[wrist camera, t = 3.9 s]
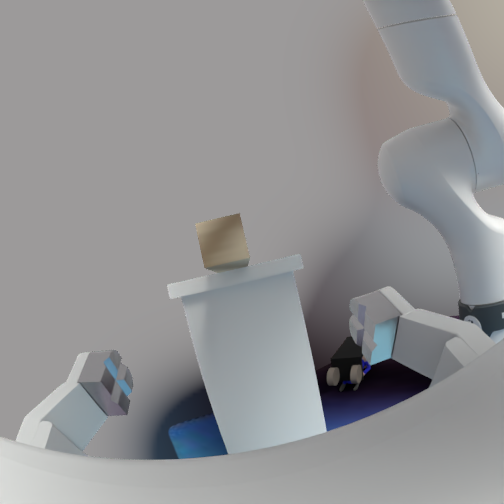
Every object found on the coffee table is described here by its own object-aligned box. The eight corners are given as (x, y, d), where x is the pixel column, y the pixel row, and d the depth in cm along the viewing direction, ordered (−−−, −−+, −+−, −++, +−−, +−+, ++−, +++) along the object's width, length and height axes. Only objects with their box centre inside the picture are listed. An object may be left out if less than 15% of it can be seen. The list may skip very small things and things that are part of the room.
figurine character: (364, 401, 41) (378, 360, 54) (357, 366, 41) (373, 329, 54) (330, 402, 45) (351, 363, 58) (321, 369, 45) (344, 334, 58)
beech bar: (246, 271, 44) (241, 253, 44) (249, 257, 18) (239, 213, 18) (227, 276, 44) (223, 257, 44) (204, 268, 18) (195, 223, 18)
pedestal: (307, 400, 46) (277, 265, 48) (340, 458, 26) (300, 253, 28) (234, 417, 45) (197, 283, 48) (230, 483, 25) (166, 284, 28)
